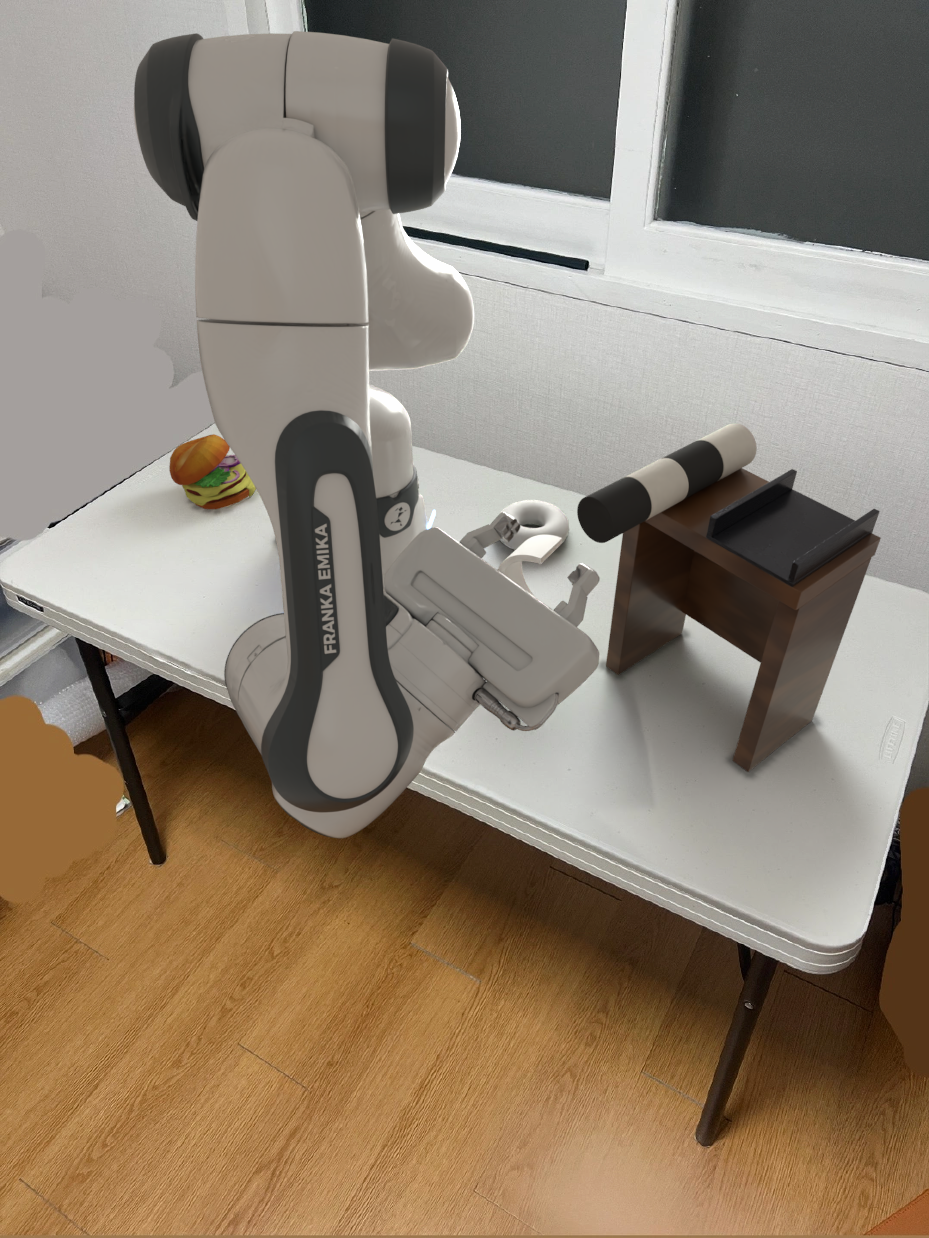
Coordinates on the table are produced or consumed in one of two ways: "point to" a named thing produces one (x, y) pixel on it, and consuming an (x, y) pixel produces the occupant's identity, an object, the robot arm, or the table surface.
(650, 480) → the roll
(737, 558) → the shelf
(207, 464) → the cheeseburger
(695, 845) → the table surface
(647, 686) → the table surface
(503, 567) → the headphone stand
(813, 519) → the tray
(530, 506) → the donut
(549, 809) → the table surface
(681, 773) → the table surface
